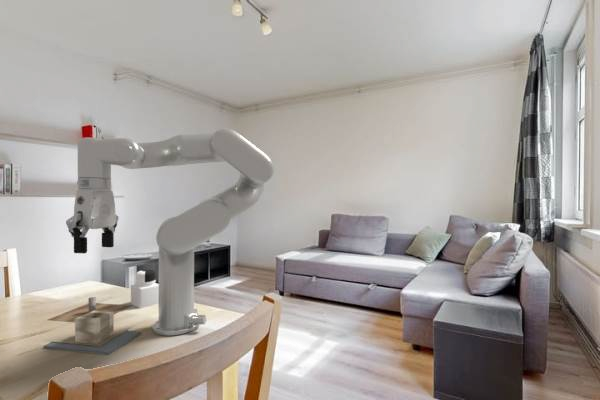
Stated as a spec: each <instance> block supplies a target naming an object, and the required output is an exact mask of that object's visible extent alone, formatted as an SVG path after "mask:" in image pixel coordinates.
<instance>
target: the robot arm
mask: <svg viewBox="0 0 600 400" xmlns="http://www.w3.org/2000/svg"><path fill="white" fill-rule="evenodd" d="M220 162H221V163H222V162H226V163H228V164H229V165H230V166H231V167H233V168H234V169H236V170H237V171H238V172H239V177H238V180H237V181H236V182H235V183H234V184H232V186H229V187H228V188H227V189H225V190H223V191H221V192H219V193H218V194H216V195H214V196H211V197H210V198H207V199H204V200H201V201H200V202H199V203H198V204H197V205H195V206H193V207H191V208H190V209H187V210H186V211H184V212H182V213H180V214H179V215H175V216H171V217H169V218H167V219H165V220H164V221H162V223H161V225H160V226H159V227H158V229H157V232H156V236H155V240H156V245H157V246H158V284H159V304H158V320H157V321H155V322H153V324H152V332H153V333H155V334H157V335H160V336H178V335H182V334H186V333H190V332H192V331H194V330H195V329H197V328H198V327H199V326H200V325H206V323H207V316H206V314H199V312H198V308H195V248H197V247H199V246H200V245H202V244H204V243H206V242H207V241H209V240H211V239H213V238H215V237H216V236H218V235H220V234H221V233H222V232H223V231H225V229H227V227H228V226H229V224H230V223H231V221H232V219H235V218H236V217H238V216H240V215H241V214H242V213H244V212H246V211H248V210H249V209H251V208H252V207H253V206H254V205H255V204H256V203H257V202H258V201H259V199H260V198H261V196H262V193H263V191H264V187H265V184H266V183H267V182H268V181H269V180H270V179H271V178H272V177H273V176H274V175H273V174H274V171H275V168H274V164H273V161H272V159H271V158H270V157H269V156H268V155H267V154H266V153H264V152H263V151H262V150H260V149H259V148H258V147H256V146H255V145H254V144H253V143H251V141H249V140H247V139H246V138H245V137H244V136H242V135H241V134H240V133H238V131H235V130H234V129H231V128H228V127H223V128H219V129H218V130H216V131H215V132H210V133H189V134H178V135H175V136H174V135H173V136H172V137H169V138H168V139H165V140H160V141H155V142H136V141H135V140H132V139H131V138H127V137H118V138H117V137H116V138H99V137H82V138H79V140H78V141H77V182H76V184H77V190H76V194H75V198H74V205H73V215H72V216H71V217H70V218H68V219H67V220H66V221H65V224H66V226H67V227H66V228H67V229H68V232H69V233H70V234H71V237H72V238H73V253H74V254H86V253H87V252H88V237H87V236H86V235H87V234H88V231H89V230H98V229H101V230H102V232H101V247H102V248H114V244H115V243H114V241H115V240H114V239H115V238H114V237H115V236H114V234H115V232H116V228H117V226H118V221H119V216H118V215H117V213H116V204H115V203H116V202H115V197H114V193H113V190H112V165H113V166H118V167H123V168H124V169H130V170H136V169H148V168H149V169H150V168H151V169H152V168H160V167H169V166H170V167H172V166H173V167H174V166H176V167H177V166H185V165H196V164H208V163H220Z"/></svg>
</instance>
